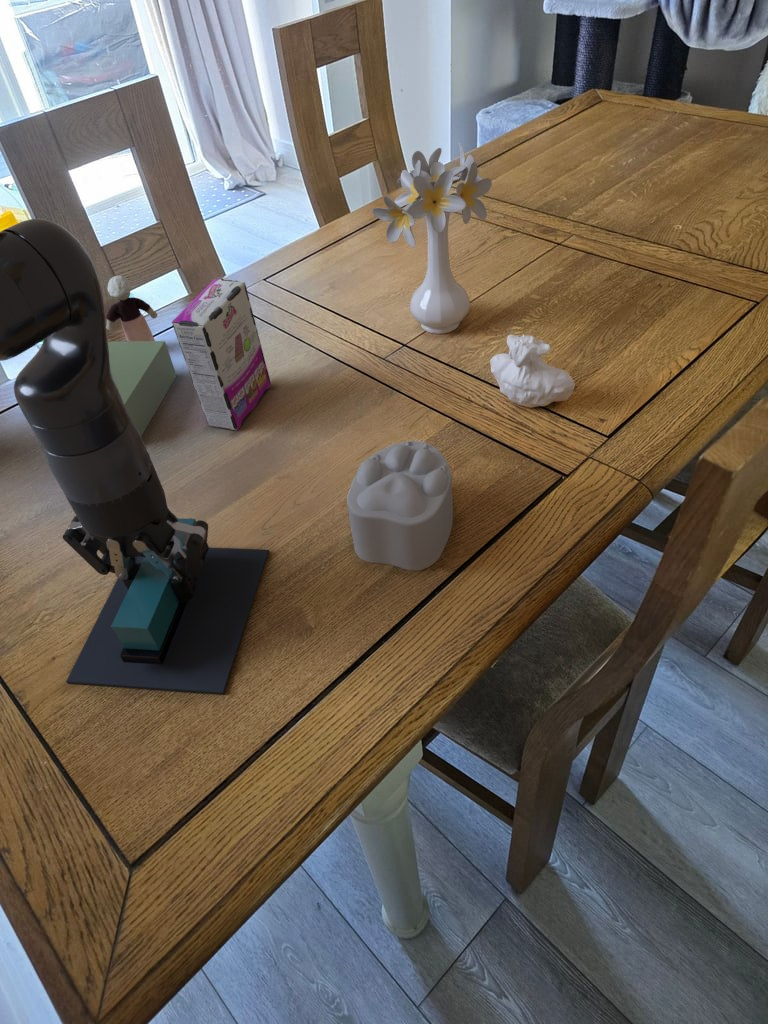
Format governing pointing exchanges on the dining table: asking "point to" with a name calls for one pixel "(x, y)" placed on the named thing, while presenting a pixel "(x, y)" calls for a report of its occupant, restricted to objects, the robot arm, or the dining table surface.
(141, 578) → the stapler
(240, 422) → the candy bar box
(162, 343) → the stand
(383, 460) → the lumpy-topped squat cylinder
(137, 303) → the grandmother figurine
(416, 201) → the flower vase
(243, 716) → the dining table surface
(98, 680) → the mat
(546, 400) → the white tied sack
